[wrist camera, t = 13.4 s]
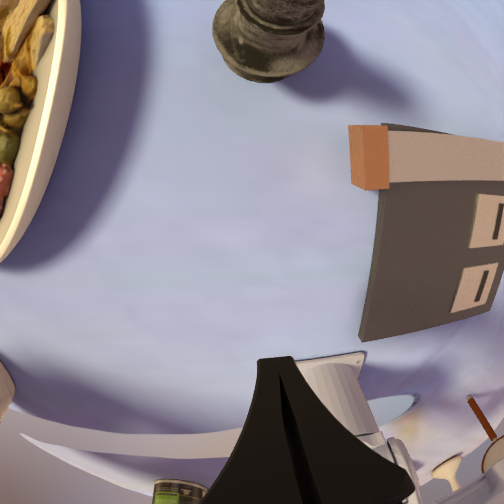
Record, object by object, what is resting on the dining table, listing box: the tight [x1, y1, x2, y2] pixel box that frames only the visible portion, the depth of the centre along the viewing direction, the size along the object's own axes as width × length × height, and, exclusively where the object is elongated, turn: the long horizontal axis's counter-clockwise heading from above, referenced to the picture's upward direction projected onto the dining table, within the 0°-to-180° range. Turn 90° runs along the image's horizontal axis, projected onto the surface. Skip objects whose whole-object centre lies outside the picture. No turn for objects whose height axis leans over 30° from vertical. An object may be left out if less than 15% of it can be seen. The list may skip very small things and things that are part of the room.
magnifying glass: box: [467, 396, 504, 474], centre depth 25 cm, size 9×2×20 cm, turn 133°
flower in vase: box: [431, 456, 462, 492], centre depth 42 cm, size 13×11×25 cm
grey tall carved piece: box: [213, 0, 325, 82], centre depth 9 cm, size 6×6×12 cm
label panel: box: [358, 123, 504, 342], centre depth 20 cm, size 18×18×2 cm
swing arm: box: [348, 125, 504, 190], centre depth 15 cm, size 18×4×2 cm, turn 97°
